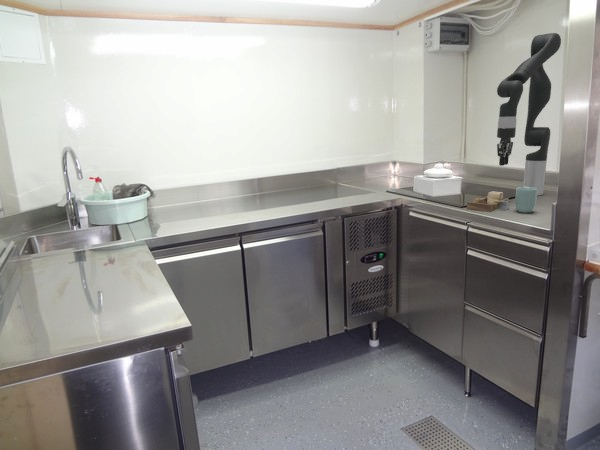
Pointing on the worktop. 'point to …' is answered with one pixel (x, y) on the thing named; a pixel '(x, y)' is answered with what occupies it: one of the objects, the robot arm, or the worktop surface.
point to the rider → (494, 197)
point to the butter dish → (437, 182)
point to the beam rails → (481, 206)
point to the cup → (525, 199)
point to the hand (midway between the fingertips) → (503, 164)
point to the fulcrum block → (503, 205)
